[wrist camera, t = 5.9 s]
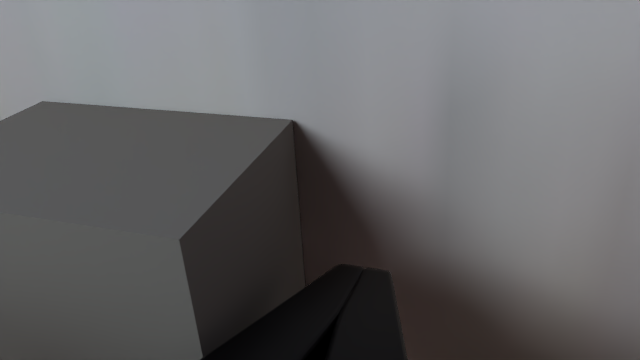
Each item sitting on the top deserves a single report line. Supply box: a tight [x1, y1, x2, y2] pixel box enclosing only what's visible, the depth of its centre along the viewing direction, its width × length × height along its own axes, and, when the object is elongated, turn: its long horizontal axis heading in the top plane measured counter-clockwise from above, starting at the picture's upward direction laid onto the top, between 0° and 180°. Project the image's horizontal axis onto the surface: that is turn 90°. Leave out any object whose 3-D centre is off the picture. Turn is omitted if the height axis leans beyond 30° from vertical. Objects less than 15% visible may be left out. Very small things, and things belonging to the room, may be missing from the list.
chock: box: [0, 101, 305, 360], centre depth 9 cm, size 4×5×4 cm
